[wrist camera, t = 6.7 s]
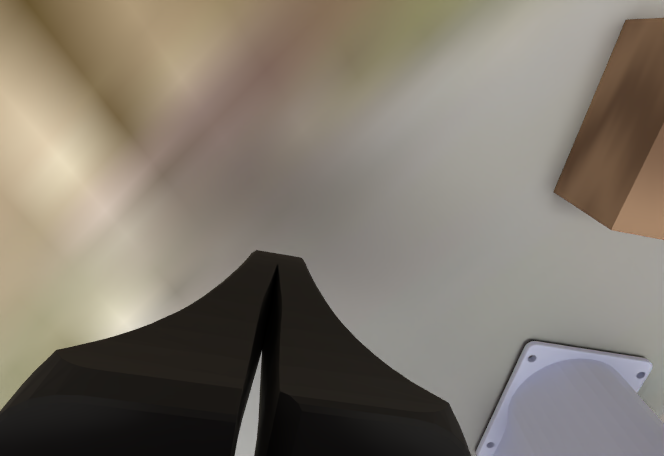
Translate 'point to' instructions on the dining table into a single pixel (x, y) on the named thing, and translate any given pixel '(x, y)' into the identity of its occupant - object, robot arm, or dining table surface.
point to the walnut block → (623, 138)
